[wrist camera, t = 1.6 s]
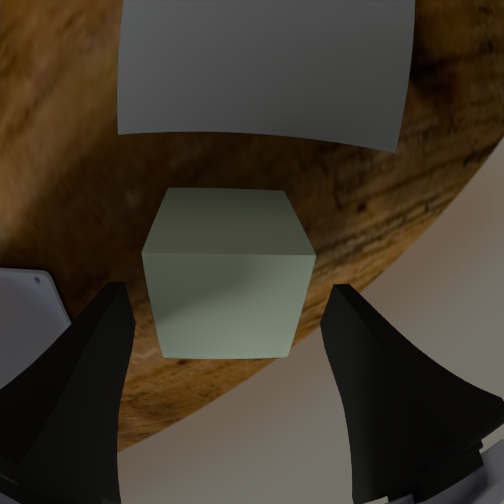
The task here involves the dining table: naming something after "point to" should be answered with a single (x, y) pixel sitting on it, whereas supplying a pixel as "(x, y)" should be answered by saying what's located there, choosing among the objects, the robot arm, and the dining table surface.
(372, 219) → the dining table surface
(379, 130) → the gray plinth
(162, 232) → the green cube
